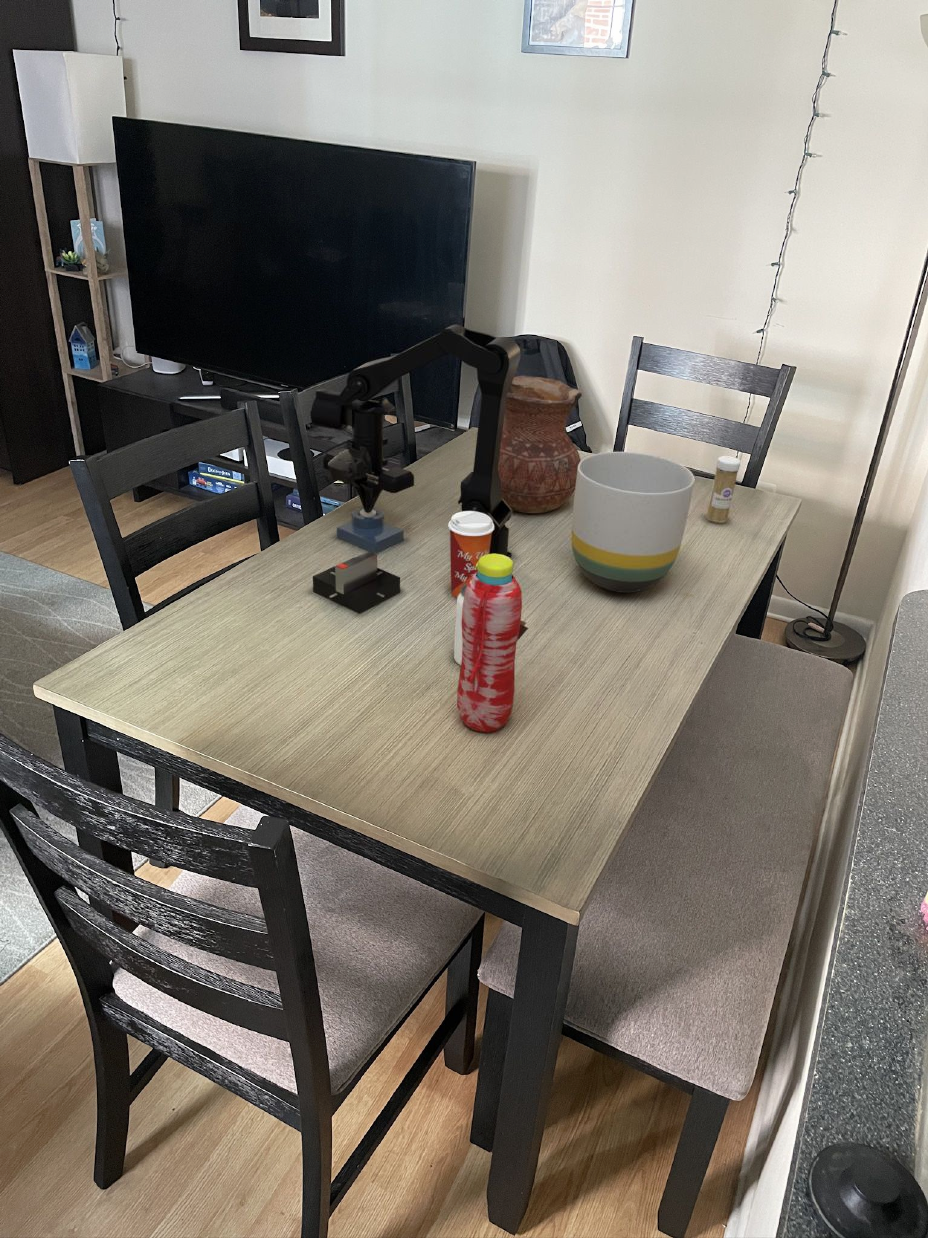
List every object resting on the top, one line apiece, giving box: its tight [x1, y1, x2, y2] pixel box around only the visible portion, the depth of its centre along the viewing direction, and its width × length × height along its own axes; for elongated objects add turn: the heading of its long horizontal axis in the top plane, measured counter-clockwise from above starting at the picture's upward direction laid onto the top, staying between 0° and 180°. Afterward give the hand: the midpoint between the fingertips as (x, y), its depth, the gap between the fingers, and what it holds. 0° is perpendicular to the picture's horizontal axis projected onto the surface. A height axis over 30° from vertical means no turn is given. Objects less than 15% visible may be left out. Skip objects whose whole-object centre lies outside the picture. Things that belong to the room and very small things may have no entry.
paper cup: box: [447, 511, 494, 599], centre depth 151 cm, size 8×8×14 cm
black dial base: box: [312, 557, 401, 615], centre depth 150 cm, size 14×13×3 cm
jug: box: [498, 375, 583, 514], centre depth 185 cm, size 22×21×25 cm
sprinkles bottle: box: [705, 455, 741, 524], centre depth 185 cm, size 5×5×13 cm
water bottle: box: [456, 554, 529, 733], centre depth 118 cm, size 12×8×25 cm, turn 153°
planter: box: [571, 451, 695, 593], centre depth 155 cm, size 20×20×21 cm
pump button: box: [360, 509, 376, 517], centre depth 172 cm, size 3×3×2 cm
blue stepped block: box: [336, 506, 404, 554], centre depth 171 cm, size 10×9×4 cm
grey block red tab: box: [335, 551, 378, 594], centre depth 148 cm, size 8×2×5 cm, turn 141°
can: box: [453, 583, 468, 667], centre depth 133 cm, size 6×6×12 cm
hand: (368, 511), depth 172 cm, fingers closed, pressing on pump button
